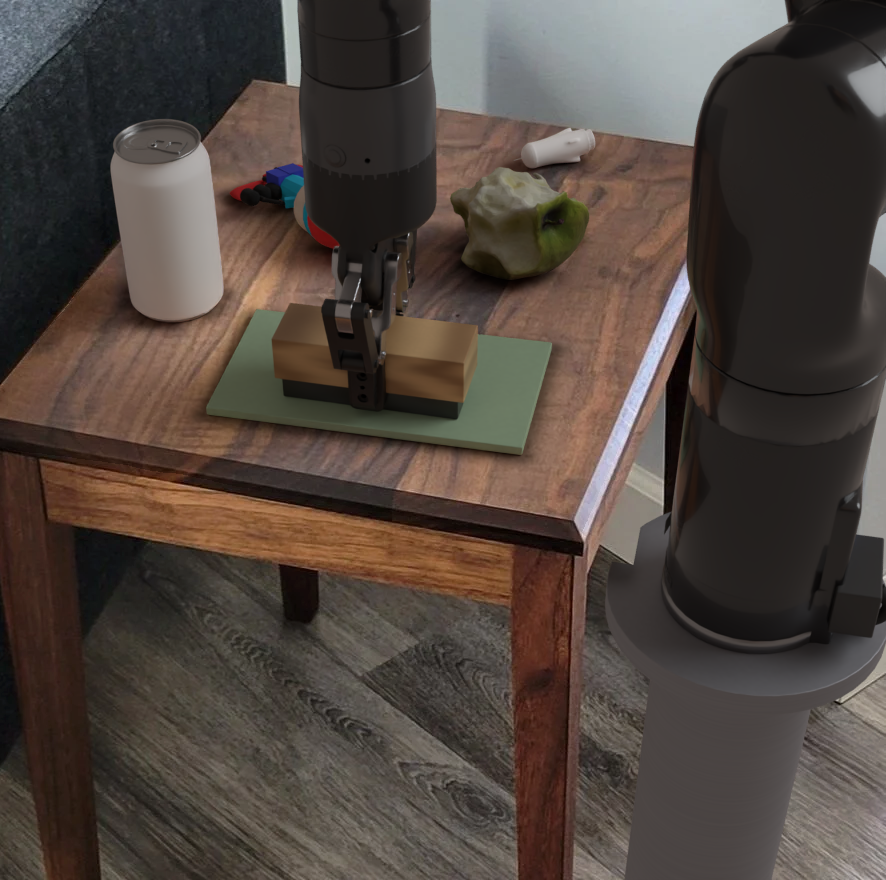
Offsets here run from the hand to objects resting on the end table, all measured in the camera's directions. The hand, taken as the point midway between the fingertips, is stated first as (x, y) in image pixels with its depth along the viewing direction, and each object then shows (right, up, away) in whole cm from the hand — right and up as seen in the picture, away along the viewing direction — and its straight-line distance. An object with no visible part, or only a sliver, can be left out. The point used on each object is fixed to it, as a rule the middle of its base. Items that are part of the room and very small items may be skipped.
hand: (377, 383), depth 102 cm
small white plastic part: (+14, +20, +19) cm, 30 cm away
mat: (0, 0, +2) cm, 2 cm away
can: (-13, +7, +10) cm, 18 cm away
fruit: (+10, +10, +12) cm, 18 cm away
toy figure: (-4, +13, +16) cm, 21 cm away
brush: (0, 0, 0) cm, 1 cm away
